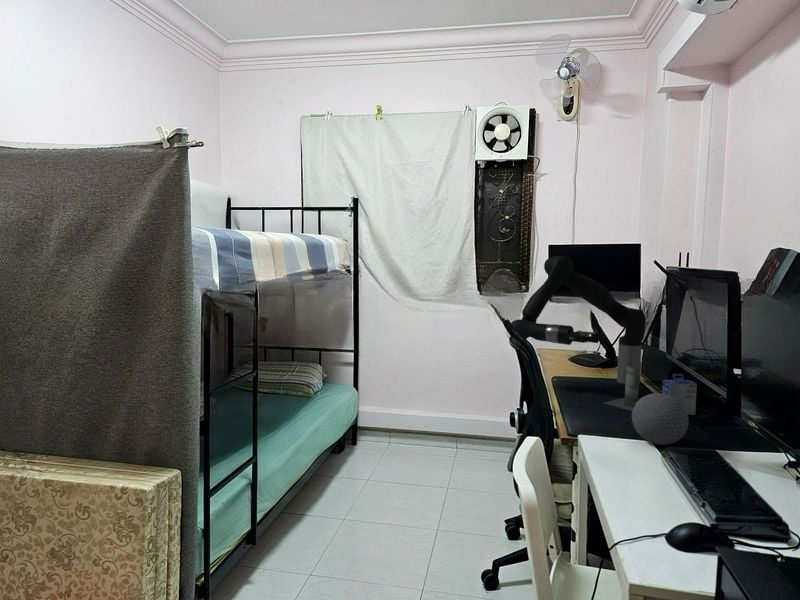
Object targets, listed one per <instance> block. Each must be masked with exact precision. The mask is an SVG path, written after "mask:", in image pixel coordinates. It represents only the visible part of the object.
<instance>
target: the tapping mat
mask: <svg viewBox="0 0 800 600" xmlns="http://www.w3.org/2000/svg"><path fill="white" fill-rule="evenodd" d="M624 401H625V396H624V397H621V398H617V399H613V400H609V401H605V402H603V404H605V405H608V406H610V407H611V406H612V407H616V408H618V409H624V410H627V411H628V412H629V411H630V412H632V411H633V408H634V407H632V406H627V405H625V404H624Z"/></svg>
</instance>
